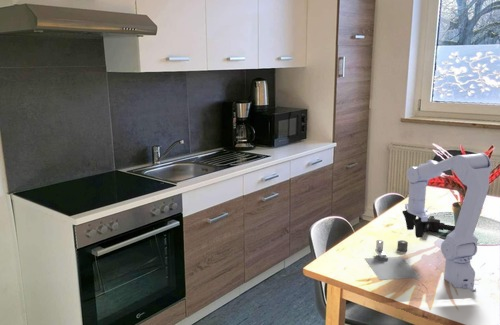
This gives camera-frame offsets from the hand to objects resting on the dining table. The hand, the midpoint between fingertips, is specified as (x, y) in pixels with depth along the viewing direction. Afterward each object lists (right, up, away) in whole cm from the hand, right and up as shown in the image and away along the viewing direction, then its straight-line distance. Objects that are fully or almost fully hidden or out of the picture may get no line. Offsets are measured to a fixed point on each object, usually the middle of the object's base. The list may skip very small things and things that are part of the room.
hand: (414, 233), depth 164 cm
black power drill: (+20, -3, +26) cm, 33 cm away
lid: (-3, -9, +5) cm, 11 cm away
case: (-12, -12, -9) cm, 19 cm away
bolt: (-13, -7, -2) cm, 15 cm away
